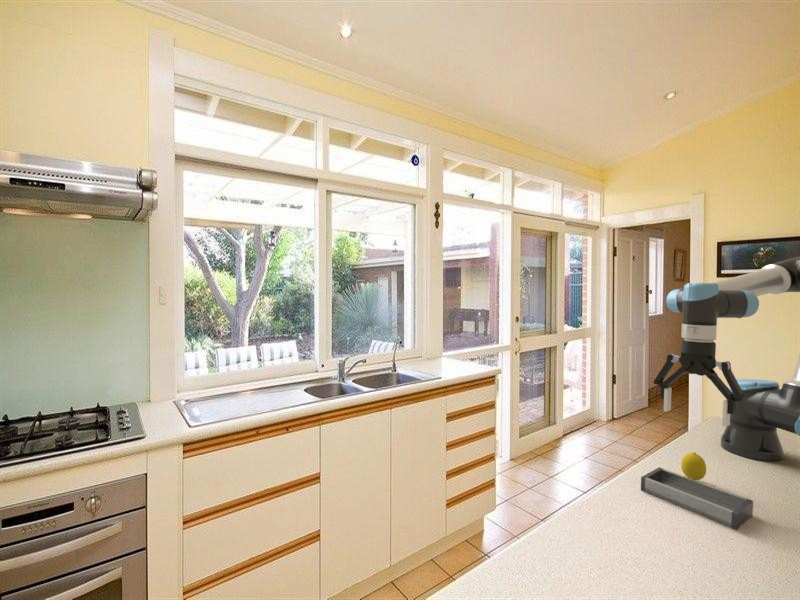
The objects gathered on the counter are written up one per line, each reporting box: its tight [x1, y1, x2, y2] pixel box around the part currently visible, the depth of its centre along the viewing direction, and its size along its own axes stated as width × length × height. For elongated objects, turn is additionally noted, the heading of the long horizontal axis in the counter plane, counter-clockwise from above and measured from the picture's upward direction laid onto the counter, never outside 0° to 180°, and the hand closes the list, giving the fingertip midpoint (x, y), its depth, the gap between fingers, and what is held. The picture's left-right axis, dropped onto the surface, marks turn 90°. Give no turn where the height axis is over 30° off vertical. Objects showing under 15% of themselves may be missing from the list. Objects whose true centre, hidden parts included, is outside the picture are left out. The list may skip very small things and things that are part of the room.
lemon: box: [680, 451, 707, 481], centre depth 108 cm, size 6×6×8 cm
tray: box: [640, 467, 754, 531], centre depth 98 cm, size 10×20×4 cm, turn 33°
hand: (695, 417), depth 108 cm, fingers open, 13 cm apart
